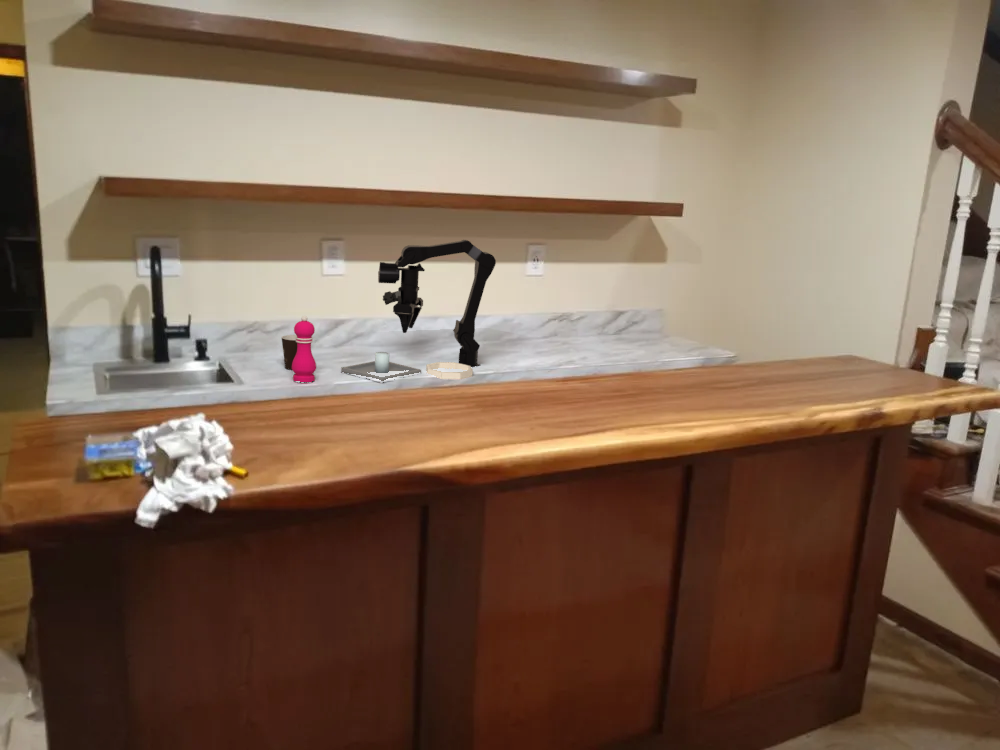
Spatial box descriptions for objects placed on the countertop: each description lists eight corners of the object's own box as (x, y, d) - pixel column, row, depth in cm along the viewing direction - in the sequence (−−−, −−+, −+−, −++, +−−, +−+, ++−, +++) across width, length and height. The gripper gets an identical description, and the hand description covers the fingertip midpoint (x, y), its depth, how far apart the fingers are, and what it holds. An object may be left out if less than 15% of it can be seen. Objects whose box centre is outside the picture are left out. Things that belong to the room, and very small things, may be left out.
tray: (381, 364, 268) (381, 359, 267) (421, 374, 257) (421, 369, 257) (341, 372, 253) (341, 367, 253) (381, 383, 243) (381, 378, 243)
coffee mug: (301, 372, 250) (302, 341, 248) (276, 369, 252) (276, 338, 249) (317, 364, 261) (317, 335, 259) (293, 361, 263) (293, 332, 260)
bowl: (446, 367, 269) (446, 360, 269) (480, 375, 261) (480, 368, 261) (417, 373, 258) (417, 366, 257) (451, 382, 250) (452, 375, 249)
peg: (381, 369, 258) (382, 351, 257) (391, 371, 256) (392, 353, 254) (371, 371, 255) (372, 353, 253) (381, 373, 252) (382, 355, 251)
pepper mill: (293, 377, 243) (294, 313, 238) (317, 378, 244) (318, 314, 239) (289, 383, 236) (289, 317, 232) (314, 384, 237) (314, 318, 232)
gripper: (392, 279, 272) (391, 323, 276) (378, 285, 254) (377, 333, 258) (424, 281, 271) (422, 326, 275) (412, 288, 253) (410, 336, 257)
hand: (407, 330), depth 266 cm, fingers open, 9 cm apart
